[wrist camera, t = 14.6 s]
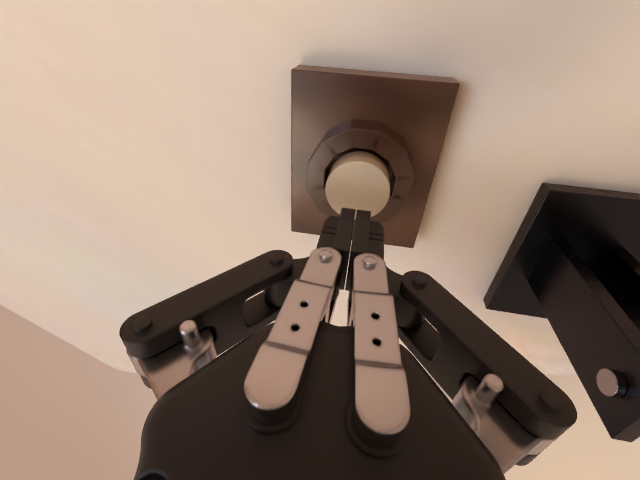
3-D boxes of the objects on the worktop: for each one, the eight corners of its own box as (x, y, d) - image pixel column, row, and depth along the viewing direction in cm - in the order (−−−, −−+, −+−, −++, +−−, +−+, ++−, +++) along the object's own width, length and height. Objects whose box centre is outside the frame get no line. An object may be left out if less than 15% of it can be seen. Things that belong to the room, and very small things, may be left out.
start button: (331, 147, 20) (327, 157, 19) (395, 154, 20) (396, 165, 18) (327, 202, 22) (323, 215, 21) (384, 210, 22) (384, 223, 21)
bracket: (542, 182, 23) (681, 332, 12) (680, 198, 22) (966, 375, 11) (482, 299, 30) (537, 460, 19) (585, 315, 29) (704, 493, 18)
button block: (298, 64, 21) (282, 73, 18) (454, 77, 20) (467, 90, 17) (296, 218, 28) (285, 245, 25) (411, 234, 27) (415, 264, 24)
